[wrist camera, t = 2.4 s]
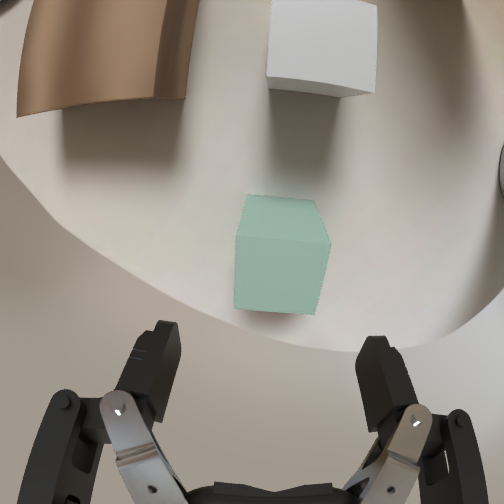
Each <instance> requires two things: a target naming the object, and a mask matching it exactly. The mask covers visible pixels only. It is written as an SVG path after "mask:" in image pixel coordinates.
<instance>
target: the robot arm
mask: <svg viewBox="0 0 504 504" xmlns="http://www.w3.org/2000/svg"><path fill="white" fill-rule="evenodd" d="M500 186H501V191H502V195H503V197H504V147H503V151H502V155H501V162H500ZM180 357H181V342H180V337H179V330H178V325H177V323H176V322H169V321H163V320H159V321H158V322H157V324H156V326H155V329H154V331H148V330H146V331H145V332H144V333H143V334H142V335H141V336H139V337H138V339H137V341H136V343H135V345H134V347H133V350H132V352H131V354H130V357H129V358H128V360H127V363H126V365H125V367H124V369H123V372H122V374H121V377H120V379H119V381H118V384H117V386H116V388H115V389H114V391H111V392H108V393H107V394H105V395H104V397H101V398H79V397H78V395H77V394H76V393H75V392H73V391H71V390H68V389H67V390H66V389H64V390H60V391H58V392H56V393H55V394H54V395H53V397H52V399H51V401H50V403H49V405H48V408H47V410H46V413H45V415H44V417H43V420H42V423H41V425H40V428H39V430H38V433H37V436H36V439H35V441H34V444H33V447H32V450H31V453H30V456H29V459H28V463H27V466H26V469H25V473H24V476H23V480H22V484H21V488H20V492H19V497H18V501H17V504H90V501H91V495H92V491H93V486H94V482H95V477H96V473H97V469H98V464H99V461H100V457H101V453H102V449H103V445H104V444H112V446H113V448H114V451H115V453H116V456H117V459H116V464H117V467H118V470H119V472H120V474H121V476H122V479H123V481H124V483H125V485H126V487H127V489H128V491H129V493H130V495H131V497H132V499H133V501H134V502H135V504H404V503H405V501H406V499H407V497H408V496H409V494H410V492H411V489H412V488H413V485H414V483H415V481H416V479H417V477H418V480H419V488H420V499H421V504H489V502H488V495H487V487H486V481H485V475H484V470H483V465H482V461H481V456H480V452H479V448H478V444H477V440H476V436H475V433H474V429H473V426H472V423H471V419H470V417H469V415H468V414H467V413H466V412H465V411H463V410H461V409H456V410H454V411H452V412H451V413H450V414H449V415H448V416H446V415H437V414H431V412H430V411H429V409H427V408H426V407H425V406H423V405H421V404H419V403H418V400H417V397H416V394H415V391H414V388H413V386H412V383H411V380H410V377H409V375H408V371H407V369H406V367H405V363H404V361H403V358H402V356H401V354H400V353H399V352H398V351H397V350H396V349H395V347H390V345H389V342H388V340H387V338H386V337H385V336H368V337H367V338H366V340H365V342H364V345H363V347H362V349H361V351H360V353H359V355H358V357H357V359H356V363H355V369H356V375H357V379H358V383H359V388H360V392H361V397H362V401H363V405H364V411H365V416H366V421H367V426H368V431H369V432H376V431H378V437H377V438H376V440H375V442H374V444H373V445H372V447H371V449H370V451H369V453H368V454H367V456H366V458H365V459H364V461H363V462H362V464H361V466H360V467H359V469H358V470H357V472H356V473H355V474H354V475H353V476H352V477H351V478H350V479H349V481H348V482H347V483H346V484H345V485H344V487H343V488H342V489H338V488H334V487H332V483H324V484H313V485H303V486H299V487H295V488H291V489H287V490H283V491H278V492H271V491H267V490H263V489H259V488H255V487H251V486H248V485H244V484H232V483H223V482H214V485H213V486H206V487H201V488H198V489H194V490H192V491H189V492H187V490H186V489H185V487H184V486H183V484H182V483H181V481H180V479H179V478H178V476H177V475H176V473H175V472H174V470H173V469H172V467H171V465H170V464H169V462H168V460H167V459H166V457H165V455H164V453H163V451H162V449H161V447H160V446H159V444H158V442H157V440H156V438H155V436H154V434H153V432H152V427H153V423H154V421H156V422H160V423H162V421H163V417H164V414H165V410H166V406H167V403H168V399H169V396H170V392H171V389H172V385H173V381H174V378H175V375H176V371H177V368H178V365H179V361H180ZM445 450H446V454H447V459H448V465H449V474H448V468H447V463H446V458H445V452H444V451H445Z"/></svg>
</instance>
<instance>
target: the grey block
mask: <svg viewBox="0 0 504 504" xmlns="http://www.w3.org/2000/svg"><path fill="white" fill-rule="evenodd" d="M376 61H377V6H376V5H373V4H369V3H366V2H362V1H358V0H271V13H270V28H269V43H268V58H267V73H266V77H267V83H268V88H269V89H280V90H290V91H299V92H307V93H314V94H321V95H327V96H333V97H339V98H341V97H348V96H355V95H363V94H371V93H374V91H375V78H376Z"/></svg>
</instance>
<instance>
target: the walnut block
mask: <svg viewBox="0 0 504 504" xmlns="http://www.w3.org/2000/svg"><path fill="white" fill-rule="evenodd" d="M198 4H199V0H34V2H33V6H32V9H31V13H30V17H29V21H28V25H27V29H26V34H25V39H24V44H23V50H22V56H21V63H20V71H19V80H18V93H17V118H18V117H22V116H27V115H31V114H36V113H41V112H46V111H52V110H58V109H64V108H70V107H76V106H82V105H89V104H97V103H106V102H116V101H128V100H144V99H185V95H186V86H187V77H188V68H189V61H190V53H191V46H192V39H193V33H194V27H195V21H196V15H197V10H198Z"/></svg>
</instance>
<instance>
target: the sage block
mask: <svg viewBox="0 0 504 504" xmlns="http://www.w3.org/2000/svg"><path fill="white" fill-rule="evenodd" d="M330 248H331V241H330V239H329V236H328V233H327V231H326V228H325V226H324V223H323V221H322V218H321V216H320V214H319V211H318V209H317V206H316V204H315V202H314V201H313V200H304V199H295V198H284V197H273V196H262V195H249V194H248V195H247V199H246V202H245V206H244V209H243V213H242V216H241V220H240V223H239V227H238V231H237V234H236V256H235V290H234V309H243V310H254V311H265V312H278V313H292V314H309V315H315V311H316V307H317V303H318V299H319V295H320V291H321V287H322V283H323V279H324V275H325V271H326V266H327V262H328V258H329V253H330Z"/></svg>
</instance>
